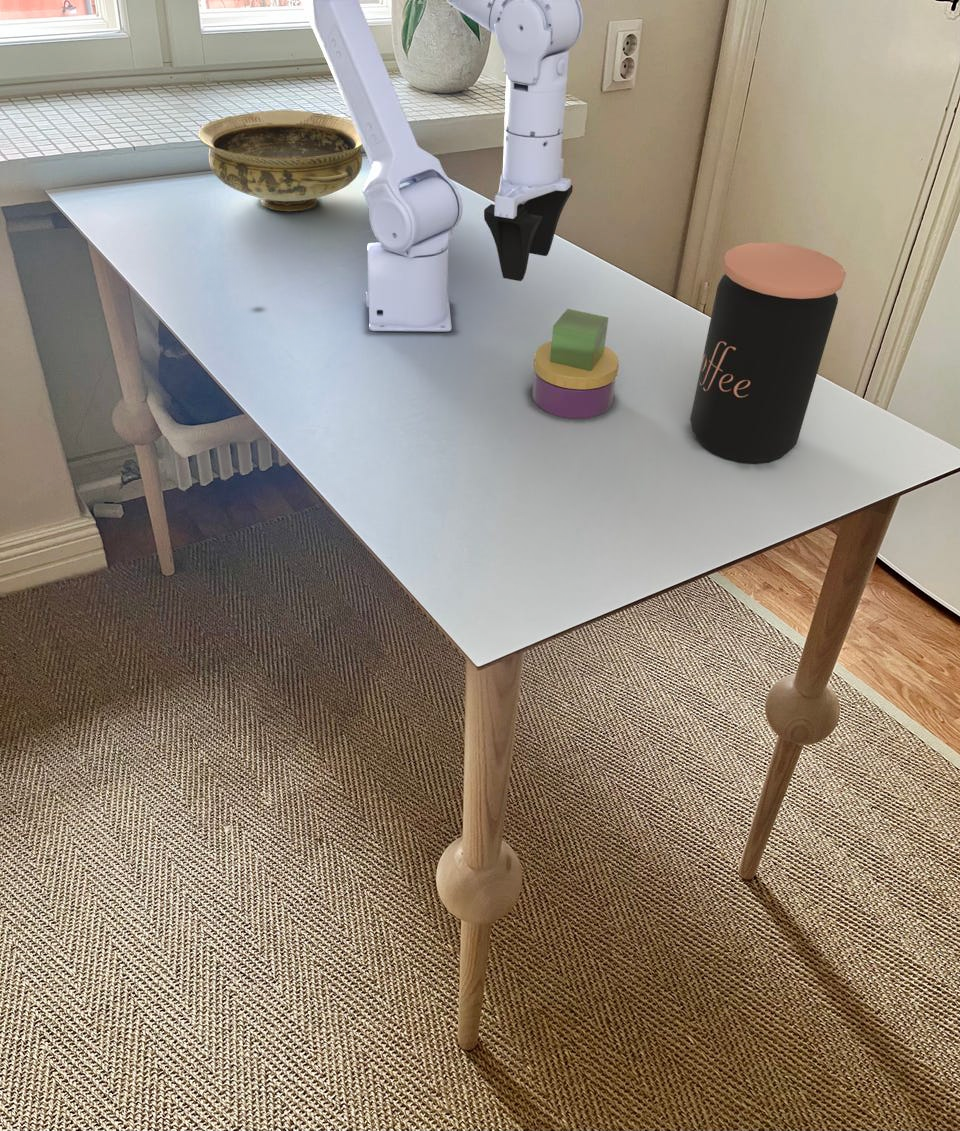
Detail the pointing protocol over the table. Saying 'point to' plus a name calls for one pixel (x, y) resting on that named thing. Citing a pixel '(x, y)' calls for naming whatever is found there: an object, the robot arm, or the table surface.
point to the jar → (572, 399)
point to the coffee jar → (764, 350)
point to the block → (578, 339)
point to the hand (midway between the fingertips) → (526, 265)
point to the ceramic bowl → (284, 155)
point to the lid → (575, 370)
